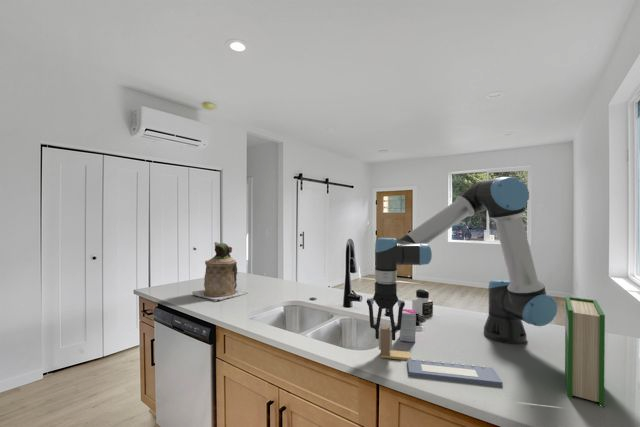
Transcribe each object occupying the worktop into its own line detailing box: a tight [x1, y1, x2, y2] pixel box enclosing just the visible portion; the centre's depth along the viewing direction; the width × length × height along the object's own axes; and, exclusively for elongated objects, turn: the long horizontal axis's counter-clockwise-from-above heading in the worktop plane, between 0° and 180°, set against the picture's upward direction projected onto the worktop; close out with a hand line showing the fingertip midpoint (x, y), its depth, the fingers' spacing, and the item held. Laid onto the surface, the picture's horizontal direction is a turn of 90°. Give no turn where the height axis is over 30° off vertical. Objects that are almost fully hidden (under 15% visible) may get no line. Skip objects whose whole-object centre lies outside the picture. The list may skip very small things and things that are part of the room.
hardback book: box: [564, 296, 606, 407], centre depth 91 cm, size 18×7×24 cm, turn 144°
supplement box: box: [399, 308, 417, 344], centre depth 125 cm, size 6×6×12 cm
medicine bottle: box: [411, 289, 434, 318], centre depth 157 cm, size 7×7×12 cm
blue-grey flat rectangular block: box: [407, 358, 503, 388], centre depth 98 cm, size 26×9×2 cm, turn 77°
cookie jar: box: [191, 241, 249, 302], centre depth 192 cm, size 25×25×32 cm
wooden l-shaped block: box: [380, 323, 412, 361], centre depth 110 cm, size 10×5×10 cm, turn 77°
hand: (385, 348), depth 111 cm, fingers closed on wooden l-shaped block, 3 cm apart
